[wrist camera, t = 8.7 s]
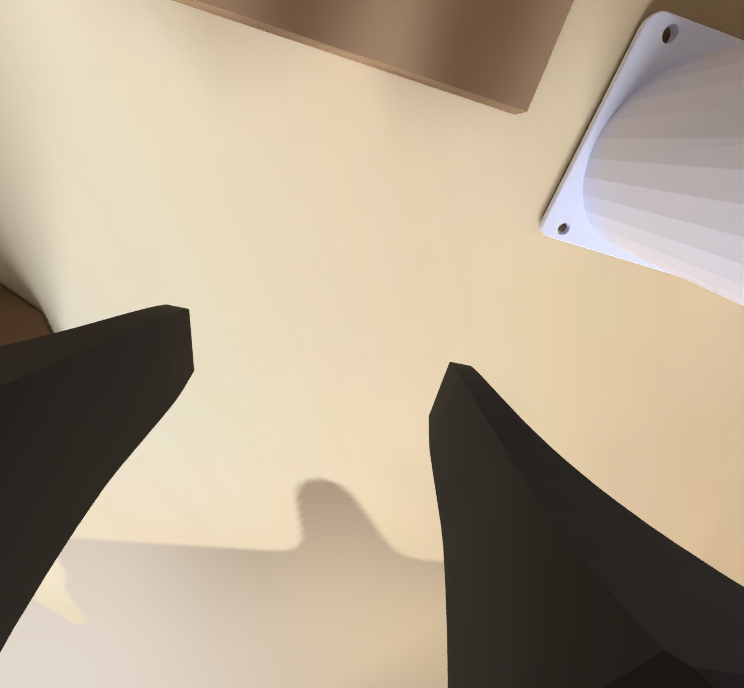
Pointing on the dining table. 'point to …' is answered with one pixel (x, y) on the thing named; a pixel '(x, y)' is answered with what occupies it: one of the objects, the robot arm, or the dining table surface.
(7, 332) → the beer bottle
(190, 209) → the dining table surface
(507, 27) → the shelf board
